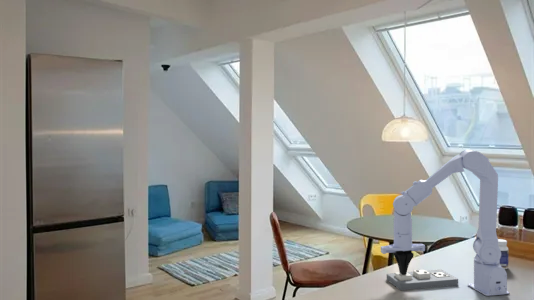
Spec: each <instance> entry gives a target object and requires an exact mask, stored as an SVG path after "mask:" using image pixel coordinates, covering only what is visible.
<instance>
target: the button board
mask: <svg viewBox="0 0 534 300" xmlns="http://www.w3.org/2000/svg"><path fill="white" fill-rule="evenodd" d="M426 271H427V272H429V273H430V278H428V279H417V278H416V277H414V276H413V271H407V273H409V274H410V275H412V280H404V281H399V280H398V279H397V278H395V272H393V273H386V280H387V281H388V282H389V283H391V284H392V285H393V286H394V287H395V286H396V287H395V288H396V289H398V290H400V291H405V290H418V289H430V288H441V287H452V286H453V287H454V286H459V279H458V278H457V277H455V276H453V275H452V274H450V273H448V272H447V271H445V270H443V269H430V270H429V269H428V270H426ZM437 272H443V273H444V274H446V275H448V276H449V277H440V278H437V277H435V276H433V275H432V274H431V273H437Z"/></svg>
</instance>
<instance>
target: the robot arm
mask: <svg viewBox="0 0 534 300" xmlns="http://www.w3.org/2000/svg"><path fill="white" fill-rule="evenodd" d="M465 170H467V171H469V172H471V173H472V174H473V175H474V176H476V177H477V178H478V179H479V201H478V202H479V205H478V207H479V208H478V229H477V230H476V237H475V240H474V241H473V243H472V248H473V251H474V252H475V253H476V254H475V255H474V257H473V283H472V282H471V283H467V286H468V287H470V288H472V289H474V290H475V291H477V292H479V293H480V294H483V295H484V296H487V297H488V296H498V295H499V296H500V295H509V294H510V291H508V274H507V271H506V269H504V268H502V267H501V265H500V263H499V262H500V260H499V259H500V258H501V250H500V248H499V246H498V239H499V238H498V235H497V218H498V214H497V212H498V192H499V191H498V190H499V188H498V187H499V184H498V183H499V175H498V173H497V171H496V169H495V168H494V166H493V165H492V163H491V162H490V160H489V158H488V157H487V156H486V155H484V153H481V152H480V151H477V150H473V149H469V148H468V149H464V150H462V151H461V152H460V153H458V154H456V155H455V156H453V157H452V158H450V159H449V160H448V161H446V163H444V164H442V166H440V168H438V169H437V170H436V171H435V172H433V174H431V175H430V176H429V177H427V179H425V180H423V179H419V180H418V181H417V180H415V181H413V182H412V186H410V187H409V188H407V189H406V190H405V191H404V190H402V191H401V192H400V193H401V195H397V196H396V197H395V198H394V199H393V203H392V205H393V206H392V207H393V209H394V212H393V216H394V218H393V243H392V244H388V245H384V246H383V245H382V246H380V252H381V253H382V254H384V255H385V254H391V253H392V254H393V257H394V258H395V260H396V263H397V266H398V270H399V271H398V272H400V273H401V274H402V275H404V274H406V273H407V272H408V268H409V265H410V263H411V261H412V259H413V258H414V252H419V251H421V252H425V251H426V245H425V244H423V243H413V219H412V212H413V210H414V207H417V206H418V205H419V204H421V203H422V202H423V201H424V200H426V199H427V198H429V196H431V195H432V194H433V188H435V187H436V186H437V185H439V184H440V183H441V182H443V181H444V180H446V179H447V178H448V177H450V176H451V175H452V174H455V173H456V174H457V173H465Z"/></svg>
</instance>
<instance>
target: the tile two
mask: <svg viewBox="0 0 534 300" xmlns="http://www.w3.org/2000/svg"><path fill="white" fill-rule="evenodd" d="M427 271H428V270H426V269H415V270H414V269H413V270H412V272H413V276H414V277H416V278H417V279H428V278H430V273H429V272H427Z"/></svg>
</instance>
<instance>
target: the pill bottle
mask: <svg viewBox="0 0 534 300" xmlns="http://www.w3.org/2000/svg"><path fill="white" fill-rule="evenodd" d="M507 245H508V240H506V239H502V238H498V246H499V248H500V250H501V258H500V259H499V260H500V262H499V263H500V265H501V267H502V268H504V269H505V270H507V269H509V256H510V255H509V254H510V252H509V247H508V246H507Z"/></svg>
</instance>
